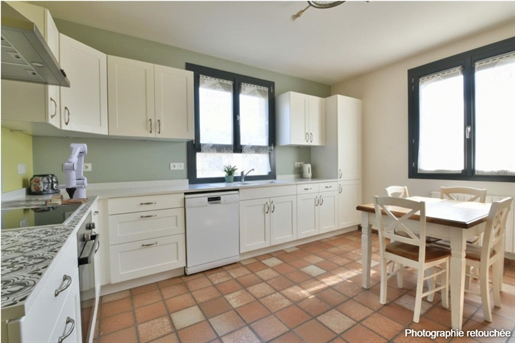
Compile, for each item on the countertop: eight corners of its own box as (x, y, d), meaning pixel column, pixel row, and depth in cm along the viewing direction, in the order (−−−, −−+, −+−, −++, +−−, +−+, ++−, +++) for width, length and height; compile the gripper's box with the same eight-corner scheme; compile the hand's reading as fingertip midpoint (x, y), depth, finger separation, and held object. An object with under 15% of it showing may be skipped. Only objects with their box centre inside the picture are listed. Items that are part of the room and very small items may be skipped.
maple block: (54, 200, 164) (54, 195, 164) (63, 200, 166) (63, 194, 165) (51, 201, 159) (51, 196, 159) (60, 201, 161) (60, 195, 161)
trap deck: (55, 202, 168) (55, 197, 168) (88, 200, 176) (88, 195, 176) (45, 206, 154) (44, 201, 154) (81, 204, 161) (81, 199, 161)
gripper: (55, 180, 158) (56, 200, 159) (81, 179, 164) (82, 198, 165) (59, 179, 165) (60, 198, 166) (84, 178, 170) (85, 197, 171)
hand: (71, 198), depth 166 cm, fingers closed
